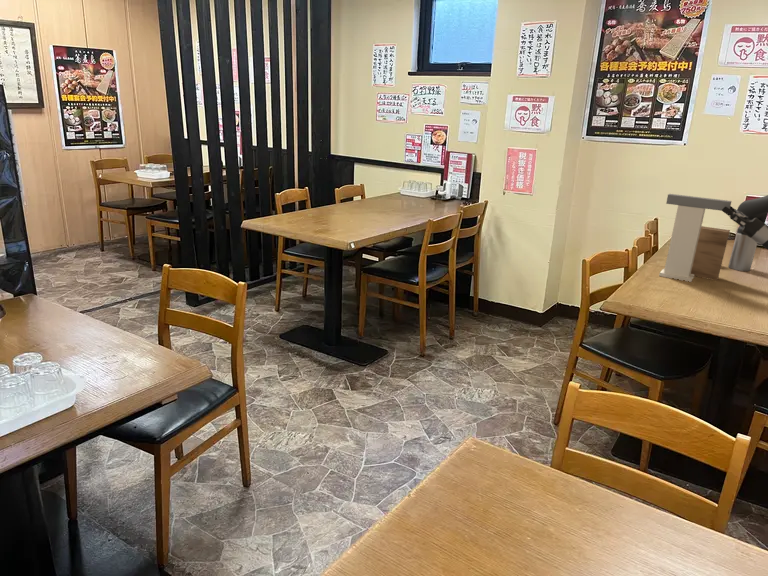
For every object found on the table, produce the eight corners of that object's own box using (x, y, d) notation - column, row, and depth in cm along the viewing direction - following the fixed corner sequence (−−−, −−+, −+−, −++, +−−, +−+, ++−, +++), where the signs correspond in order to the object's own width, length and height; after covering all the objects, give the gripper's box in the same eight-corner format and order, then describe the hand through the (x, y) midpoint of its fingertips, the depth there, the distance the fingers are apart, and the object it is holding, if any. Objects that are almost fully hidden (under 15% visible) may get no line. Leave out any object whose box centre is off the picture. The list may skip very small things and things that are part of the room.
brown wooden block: (674, 269, 266) (684, 223, 259) (718, 277, 256) (730, 230, 249) (671, 272, 261) (682, 225, 254) (717, 280, 252) (728, 232, 245)
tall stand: (662, 271, 261) (677, 203, 251) (693, 277, 254) (710, 207, 244) (659, 275, 254) (673, 205, 244) (690, 282, 247) (707, 209, 237)
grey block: (667, 202, 251) (669, 193, 249) (729, 210, 238) (731, 201, 237) (666, 203, 248) (668, 194, 246) (728, 211, 235) (730, 202, 234)
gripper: (766, 221, 236) (732, 198, 241) (765, 226, 225) (729, 201, 229) (751, 235, 240) (719, 211, 245) (750, 241, 229) (715, 216, 233)
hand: (724, 207), depth 237 cm, fingers open, 8 cm apart
